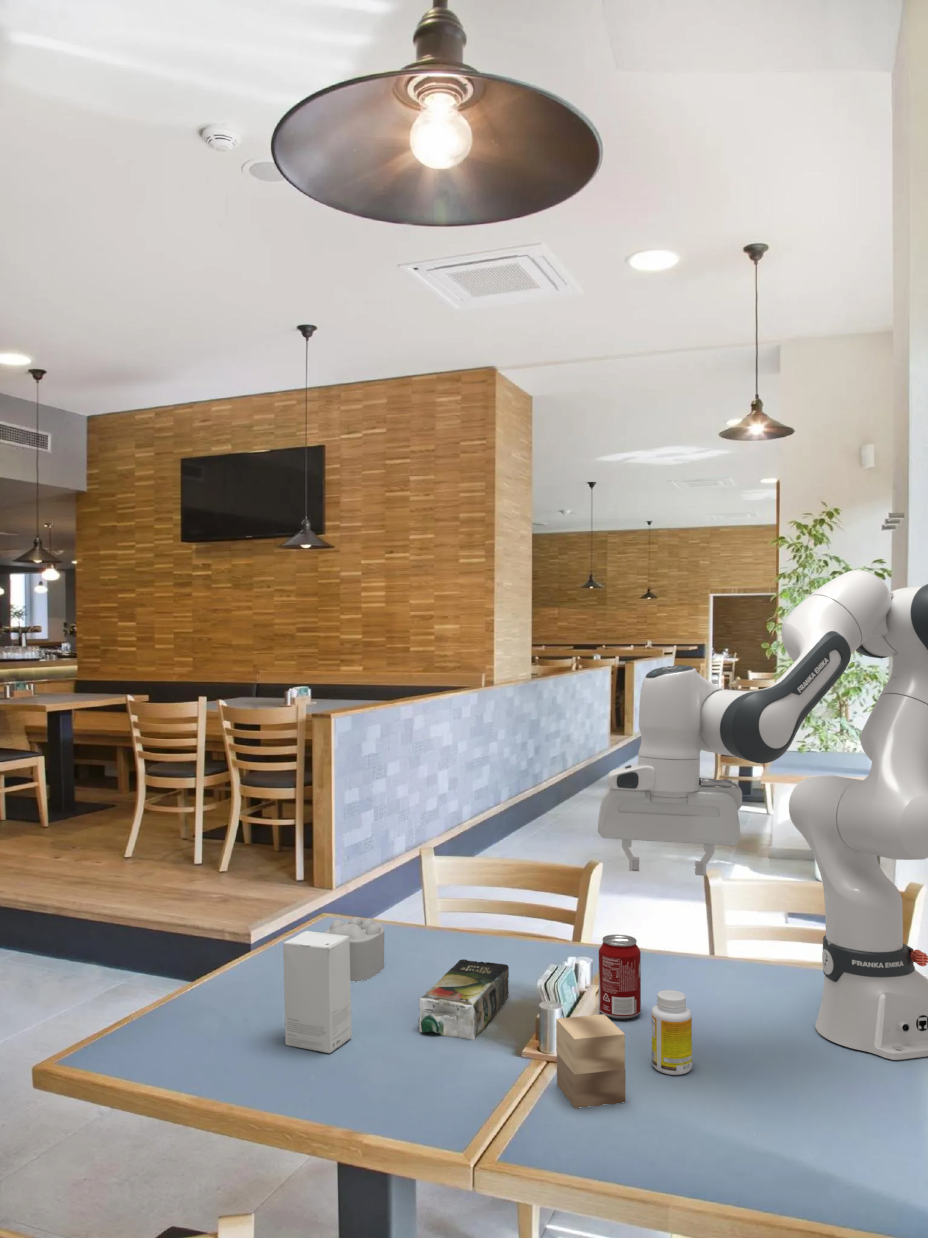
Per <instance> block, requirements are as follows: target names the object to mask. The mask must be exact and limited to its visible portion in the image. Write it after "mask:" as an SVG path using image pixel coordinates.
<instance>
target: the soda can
mask: <svg viewBox="0 0 928 1238" xmlns="http://www.w3.org/2000/svg"><path fill="white" fill-rule="evenodd" d="M601 940H602V942H601V945H600V946H599V947H598V1010H599V1012H600V1013H601V1014H605V1015H606V1016H607V1017H608V1018H609V1019H613V1020H619V1021H620V1020H621V1021H623V1020H624V1021H627V1020H630V1018H631V1019H634V1018H635V1017H637V1016H638V1015H641V1011H642V1005H641V1004H642V1001H641V1000H642V993H641V991H642V990H641V988H642V987H641V986H642V985H641V981H642V978H641V977H642V972H641V967H642V966H641V965H642V964H641V963H642V962H641V961H642V960H641V959H642V958H641V957H642V956H641V954H642V953H641V950H640V948H639V946H638V945H637V940H638V939H636V938H635V937H633V936H631V935H627V934H617V933H615V934H608V935H604V936H603V937H602V939H601Z"/></svg>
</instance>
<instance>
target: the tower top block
mask: <svg viewBox="0 0 928 1238" xmlns="http://www.w3.org/2000/svg"><path fill="white" fill-rule="evenodd" d="M555 1028H556V1029H555V1030H556V1032H555V1034H556V1035H555V1041H556V1042H555V1043H556V1044H555V1046H556V1047H555V1048H556V1049H555V1052H556V1055H557V1054H558V1055H559V1056H560V1057H561V1059H562V1060H563V1061H564V1062H565V1064H566V1065H567V1066H568V1067H569V1068H570V1070H571V1071H572V1072H573V1073H574V1075H576V1074H585V1073H594V1072H603V1071H612V1070H621V1069H625V1070H626V1040H625V1039H626V1034H625V1032H624V1031H622V1030H621V1029H620V1028H619V1027H618V1026H617V1025H616V1024H615V1023H614V1022H613V1021H612V1020H611V1018H609V1017H607V1016H606V1015H605V1014H603V1013H601V1014H592V1015H583V1016H582V1015H581V1016H572V1017H571V1016H570V1017H562V1018H561V1017H560V1018H556V1023H555Z"/></svg>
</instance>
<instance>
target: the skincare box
mask: <svg viewBox="0 0 928 1238" xmlns="http://www.w3.org/2000/svg"><path fill="white" fill-rule="evenodd" d="M282 944H283V982H284V983H283V987H284V988H283V989H284V991H283V992H284V998H283V999H284V1029H285V1030H284V1031H285V1032H284V1033H285V1037H284V1038H285V1039H284V1040H285V1043H284V1044H285V1046H289V1047H295V1048H299V1049H305V1050H310V1051H316V1052H321V1053H325V1054H331V1053H333V1052H334V1051H336V1050H337V1049H339V1048H340V1047H341V1046H343V1045H344V1044H345V1043H347V1042H348V1041H349V1040H351V1038H352V1037H353V1036H352V1034H353V1033H352V999H351V998H352V997H351V996H352V995H351V982H350V949H349V948H350V944H349V936H344V935H336V934H327V933H324V932H319V931H310V930H305V931H303V932H301V933H299V934H297V935H296V936H294V937H292V938H290V939H287V940H285V941H283V943H282Z"/></svg>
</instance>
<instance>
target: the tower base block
mask: <svg viewBox="0 0 928 1238" xmlns="http://www.w3.org/2000/svg"><path fill="white" fill-rule="evenodd" d="M556 1085H557V1087H558V1088H559V1089H560V1091H561V1090H562V1091H561V1092H562V1094H564V1096H565V1097H566V1099H567V1098H568V1099H567V1101H568V1102H569V1103H570V1102H571V1103H570V1104H571V1106H572V1107H573V1108H574V1110H577V1109H580V1108H579V1107H586V1108H589V1107H588V1106H594V1107H599V1106H600V1107H602V1106H601V1105H603V1104H611V1105H617V1104H616V1103H620V1104H623V1103H622V1102H625V1103H626V1068H625V1069H621V1070H612V1071H603V1072H594V1073H585V1074H576V1075H574V1073H573V1072H572V1071H571V1070H570V1068H569V1067H568V1066H567V1065H566V1064H565V1062H564V1061H563V1060H562V1059H561V1057H560V1056H559V1055H558V1054H557V1053H556ZM603 1106H604V1105H603ZM576 1108H577V1109H576Z"/></svg>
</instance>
